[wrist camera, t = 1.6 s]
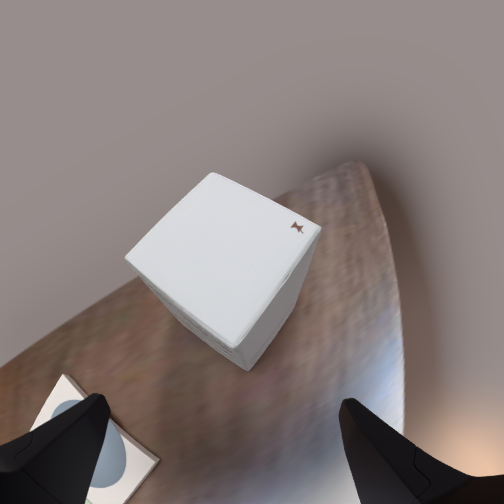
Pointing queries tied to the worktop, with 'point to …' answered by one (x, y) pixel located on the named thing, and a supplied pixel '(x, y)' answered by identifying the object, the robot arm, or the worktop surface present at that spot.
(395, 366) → the worktop surface
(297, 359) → the worktop surface
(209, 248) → the supplement box
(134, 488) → the white board
